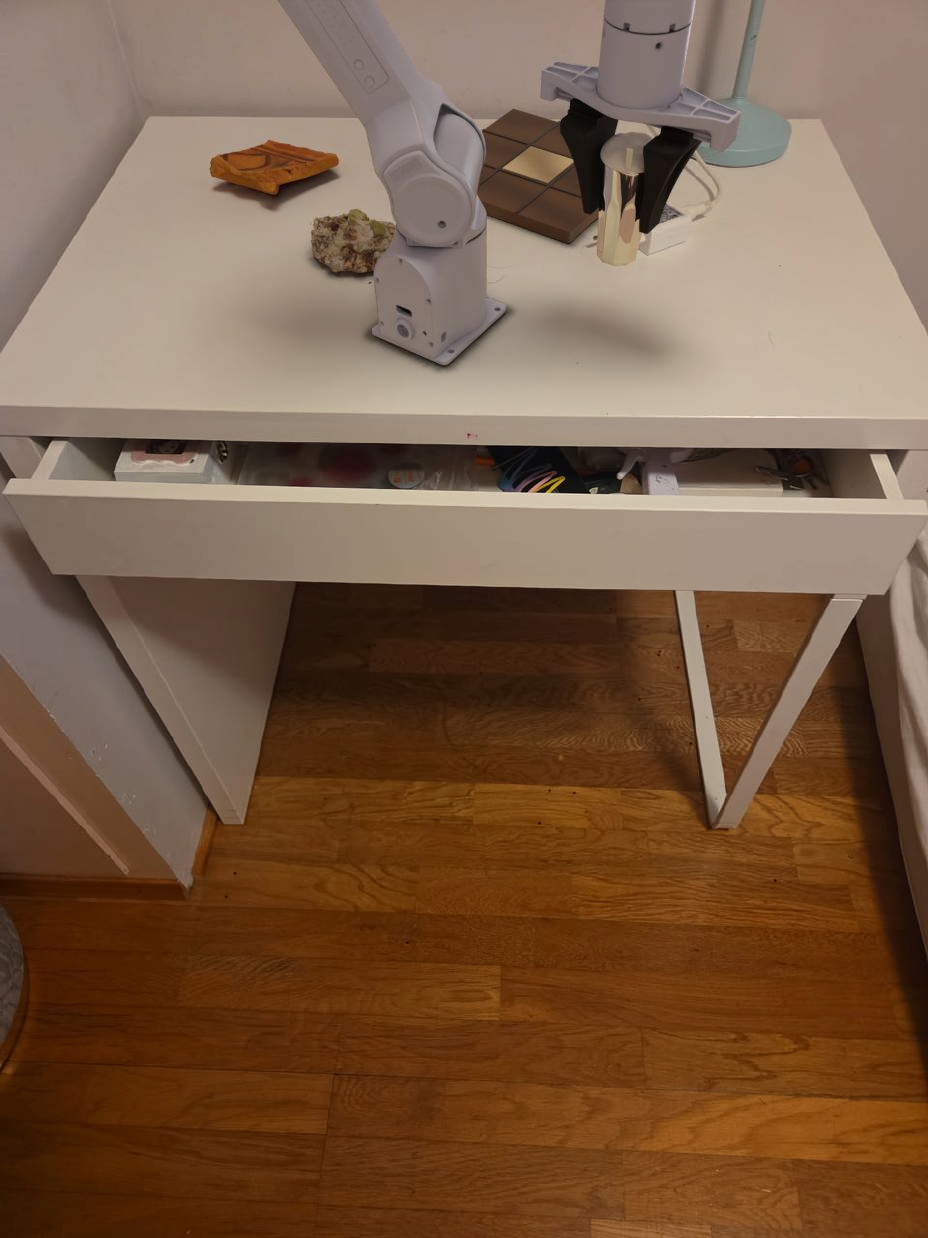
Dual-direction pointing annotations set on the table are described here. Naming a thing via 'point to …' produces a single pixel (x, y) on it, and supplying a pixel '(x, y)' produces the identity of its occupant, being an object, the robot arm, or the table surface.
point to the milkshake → (621, 198)
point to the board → (532, 177)
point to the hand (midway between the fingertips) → (621, 217)
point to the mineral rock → (350, 241)
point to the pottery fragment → (270, 165)
